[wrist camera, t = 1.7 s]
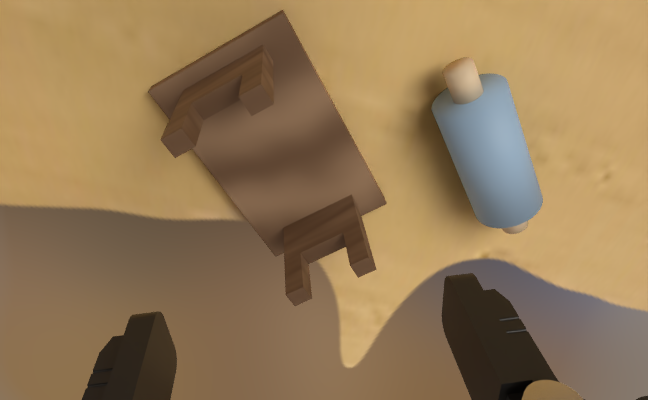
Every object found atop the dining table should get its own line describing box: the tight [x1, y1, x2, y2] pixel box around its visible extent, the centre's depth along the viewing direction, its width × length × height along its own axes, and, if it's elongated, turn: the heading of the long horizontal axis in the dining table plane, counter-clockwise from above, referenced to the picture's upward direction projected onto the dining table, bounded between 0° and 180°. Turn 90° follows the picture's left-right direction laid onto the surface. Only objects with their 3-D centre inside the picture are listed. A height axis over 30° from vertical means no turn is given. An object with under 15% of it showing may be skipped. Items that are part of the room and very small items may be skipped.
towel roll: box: [432, 58, 543, 234], centre depth 34 cm, size 14×5×5 cm, turn 27°
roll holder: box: [148, 10, 387, 306], centre depth 31 cm, size 16×10×8 cm, turn 27°
